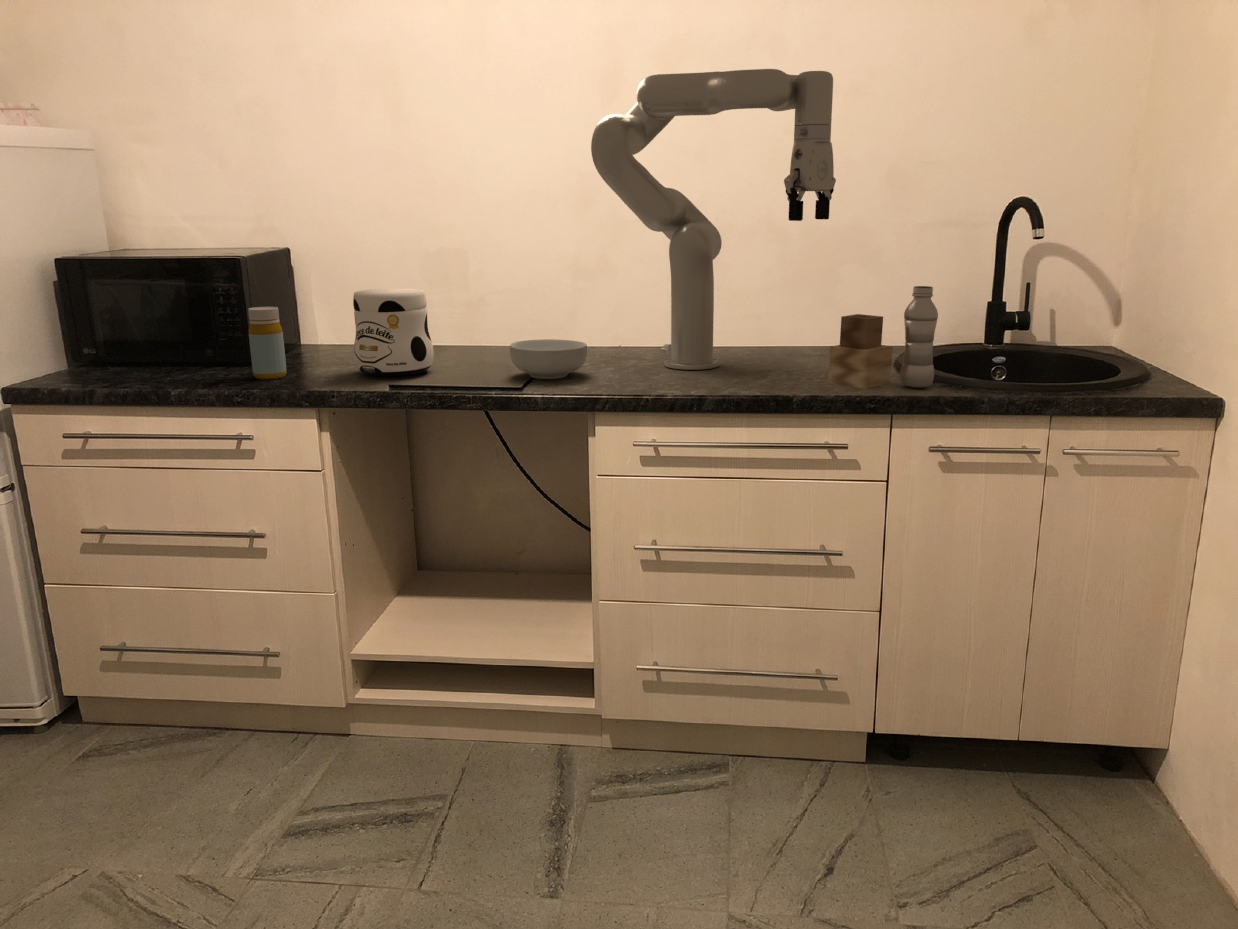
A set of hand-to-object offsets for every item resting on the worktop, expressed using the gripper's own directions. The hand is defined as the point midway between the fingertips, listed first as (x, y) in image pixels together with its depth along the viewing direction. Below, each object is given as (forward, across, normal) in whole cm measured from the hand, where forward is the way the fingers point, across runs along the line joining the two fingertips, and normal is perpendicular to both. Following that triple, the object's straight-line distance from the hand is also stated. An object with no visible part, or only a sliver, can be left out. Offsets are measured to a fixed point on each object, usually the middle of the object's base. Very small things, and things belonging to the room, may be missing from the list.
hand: (808, 219), depth 210 cm
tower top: (+29, -4, -17) cm, 34 cm away
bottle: (+32, -84, +82) cm, 122 cm away
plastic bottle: (+32, -1, -28) cm, 43 cm away
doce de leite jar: (+32, -63, +65) cm, 96 cm away
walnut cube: (+25, -4, -17) cm, 30 cm away
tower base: (+33, -4, -17) cm, 37 cm away
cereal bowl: (+33, -42, +37) cm, 65 cm away
